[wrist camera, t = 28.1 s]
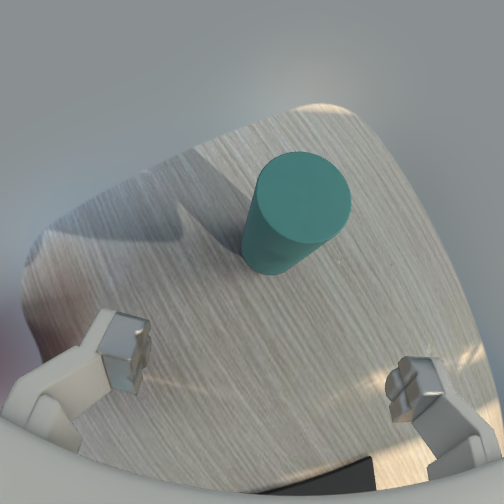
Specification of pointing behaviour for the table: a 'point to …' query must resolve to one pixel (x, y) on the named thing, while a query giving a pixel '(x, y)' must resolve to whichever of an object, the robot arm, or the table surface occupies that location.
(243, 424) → the table surface
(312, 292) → the table surface
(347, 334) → the table surface
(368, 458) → the desk mat
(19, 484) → the robot arm
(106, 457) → the table surface
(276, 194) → the cylinder
